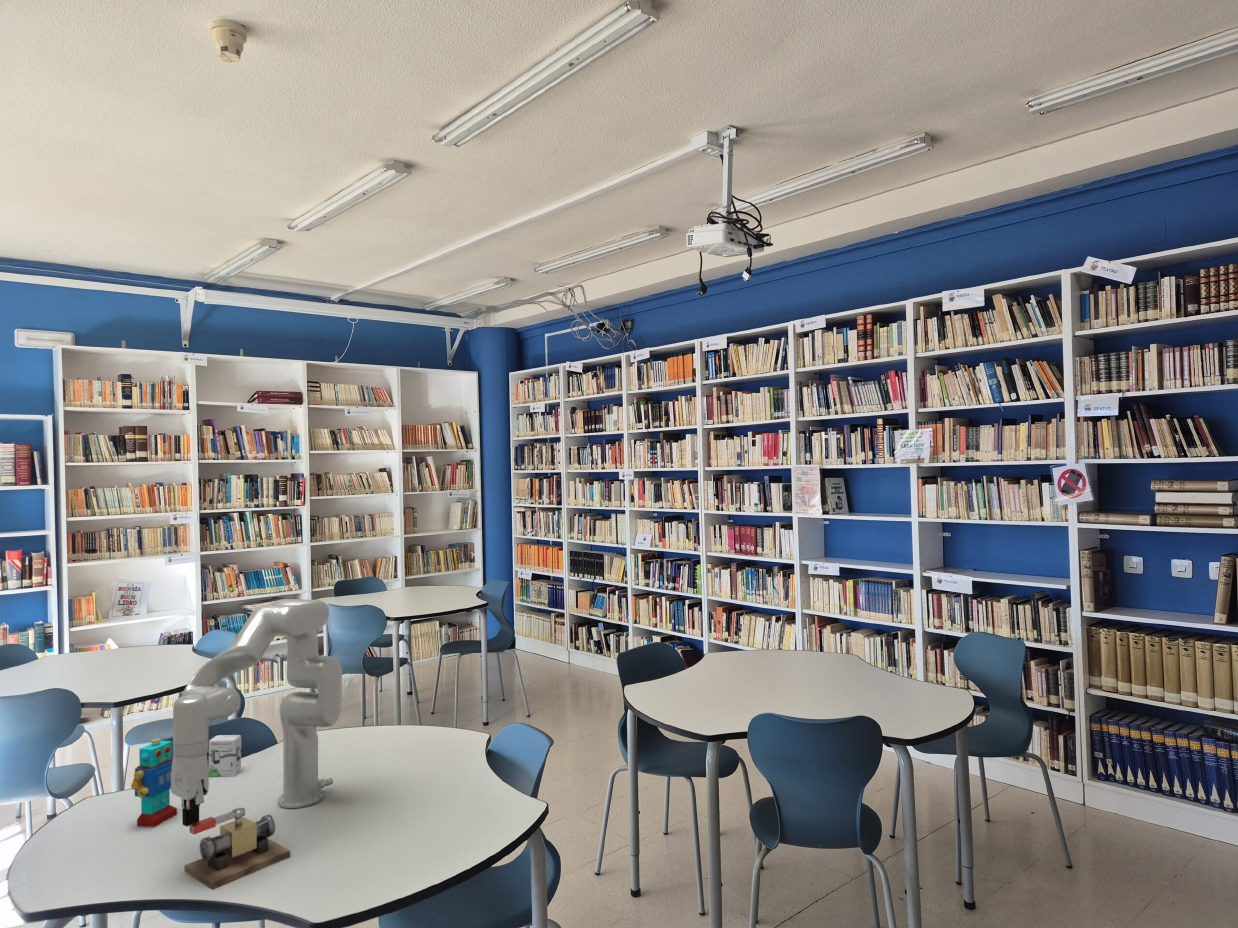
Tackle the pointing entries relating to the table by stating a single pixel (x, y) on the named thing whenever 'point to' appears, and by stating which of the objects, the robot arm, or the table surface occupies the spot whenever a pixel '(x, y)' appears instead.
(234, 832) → the valve pipe
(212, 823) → the valve lever
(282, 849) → the mounting board
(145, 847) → the table surface
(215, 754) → the ink box
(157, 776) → the toy robot
